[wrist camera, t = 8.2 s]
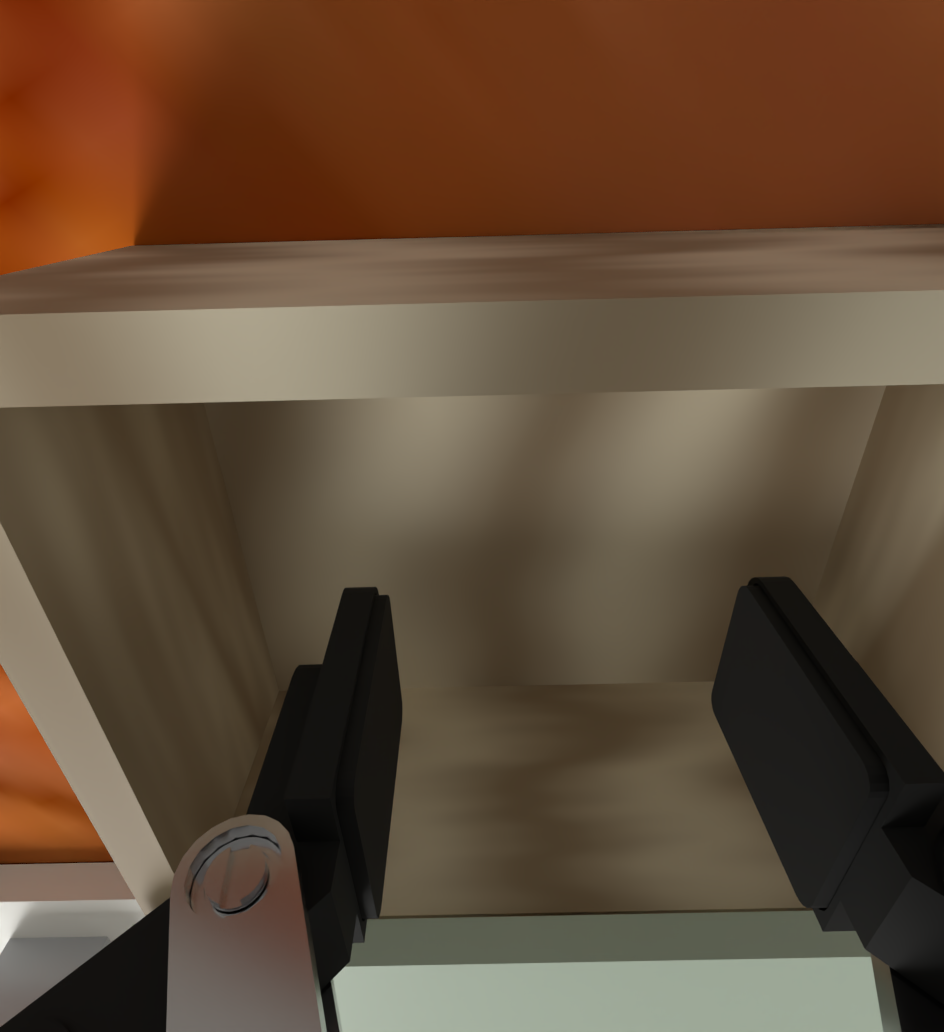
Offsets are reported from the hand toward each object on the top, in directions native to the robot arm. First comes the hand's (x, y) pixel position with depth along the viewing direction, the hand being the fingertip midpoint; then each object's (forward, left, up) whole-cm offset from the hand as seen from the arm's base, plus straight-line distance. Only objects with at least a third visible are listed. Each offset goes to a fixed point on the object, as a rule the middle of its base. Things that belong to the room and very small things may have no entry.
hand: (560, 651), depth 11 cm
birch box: (0, 0, -6) cm, 6 cm away
